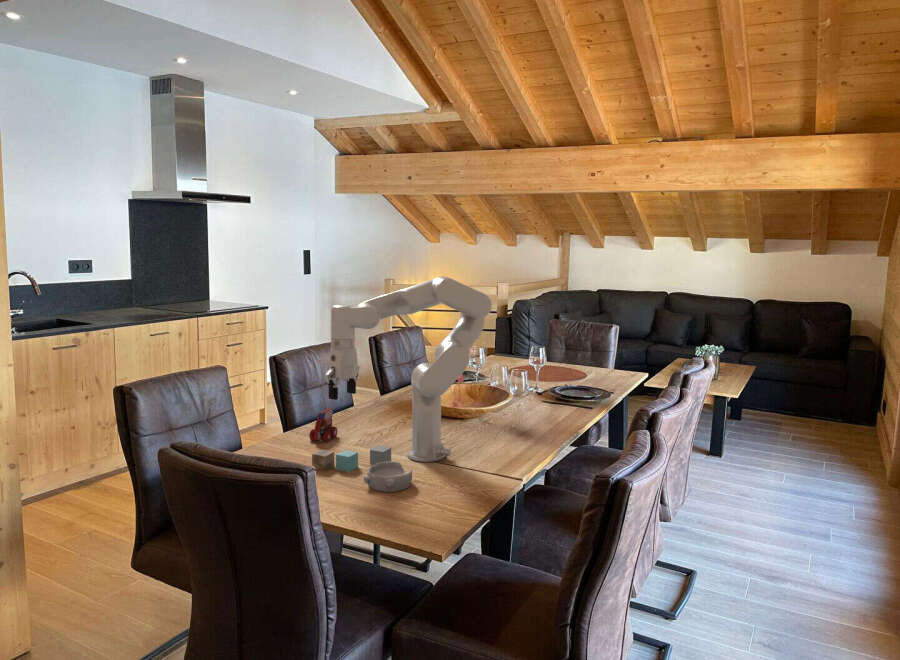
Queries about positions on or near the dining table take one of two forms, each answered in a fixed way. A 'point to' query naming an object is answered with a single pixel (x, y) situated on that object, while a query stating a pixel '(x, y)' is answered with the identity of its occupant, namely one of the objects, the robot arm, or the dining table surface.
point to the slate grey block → (380, 454)
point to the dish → (388, 477)
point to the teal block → (346, 461)
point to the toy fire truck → (324, 427)
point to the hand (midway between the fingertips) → (342, 396)
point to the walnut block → (323, 460)
